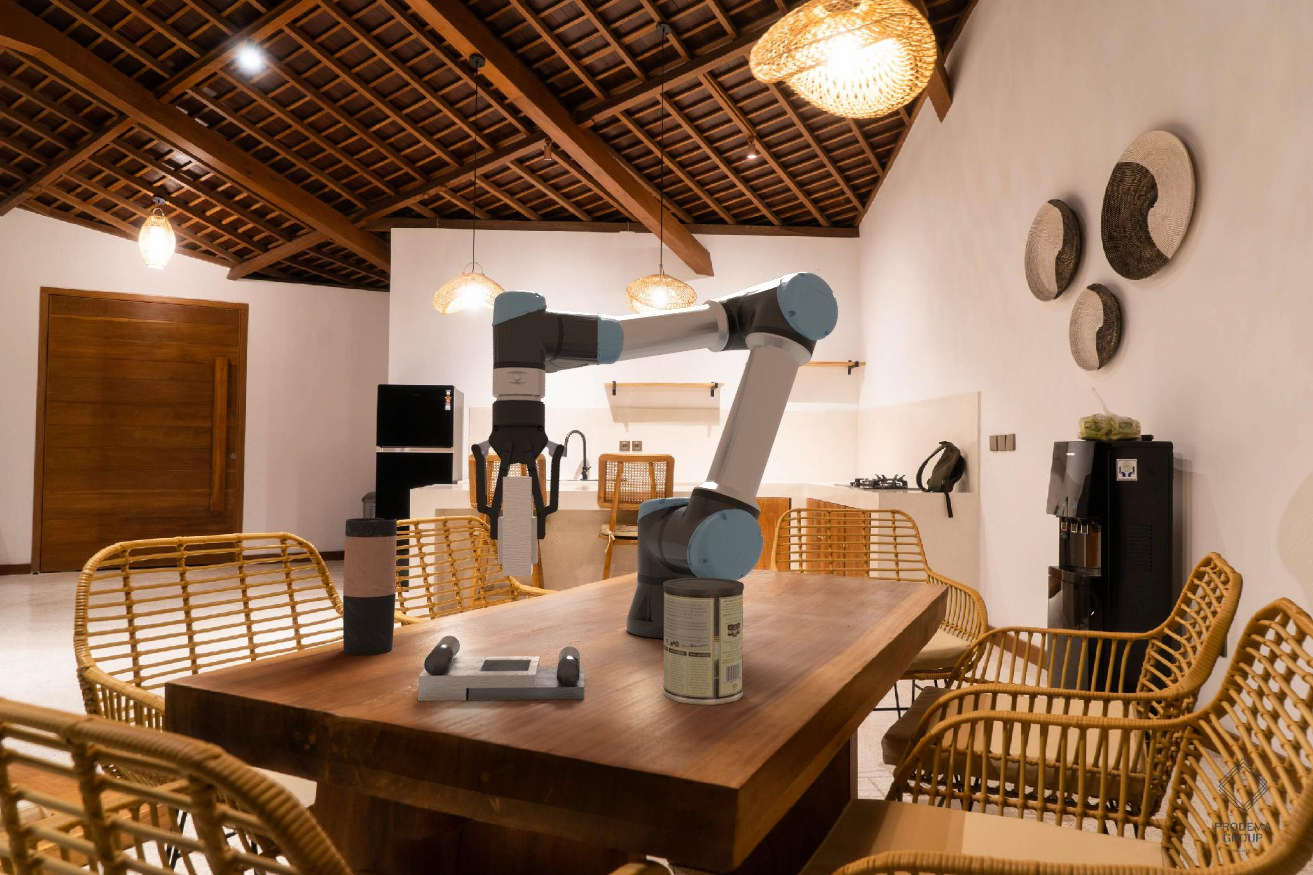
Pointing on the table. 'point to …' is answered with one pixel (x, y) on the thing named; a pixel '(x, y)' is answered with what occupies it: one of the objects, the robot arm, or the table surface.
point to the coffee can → (703, 640)
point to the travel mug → (369, 585)
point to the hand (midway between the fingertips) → (517, 562)
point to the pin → (517, 526)
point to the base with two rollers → (498, 676)
